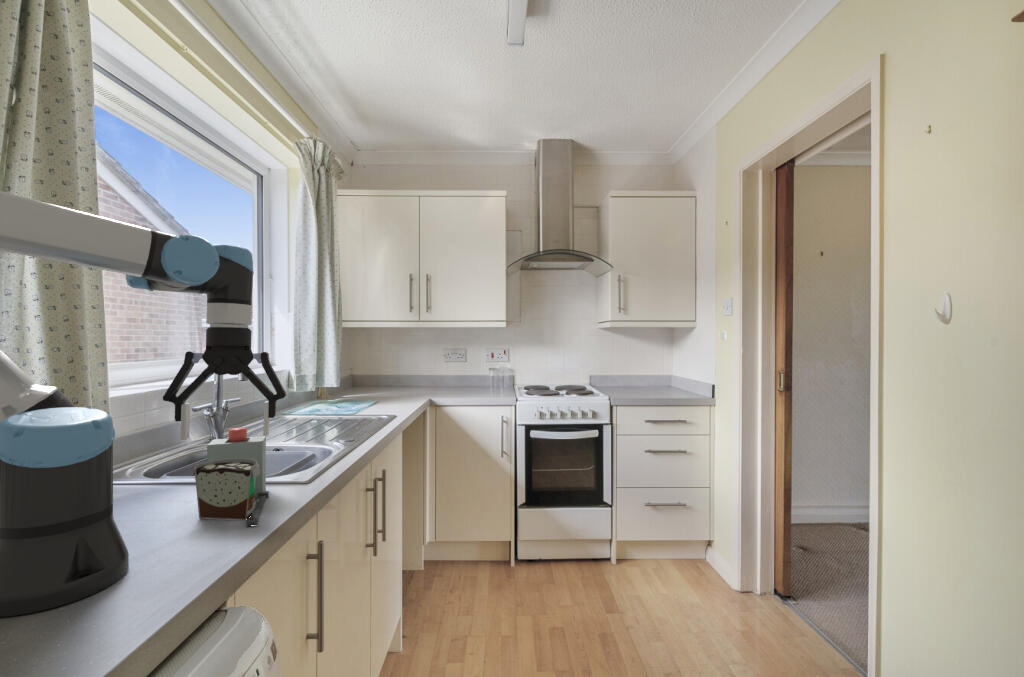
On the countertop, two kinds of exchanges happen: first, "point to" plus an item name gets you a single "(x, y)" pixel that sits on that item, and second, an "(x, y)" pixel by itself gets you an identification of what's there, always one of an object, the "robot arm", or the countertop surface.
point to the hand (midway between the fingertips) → (226, 436)
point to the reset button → (237, 434)
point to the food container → (226, 488)
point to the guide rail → (257, 509)
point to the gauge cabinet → (242, 455)
